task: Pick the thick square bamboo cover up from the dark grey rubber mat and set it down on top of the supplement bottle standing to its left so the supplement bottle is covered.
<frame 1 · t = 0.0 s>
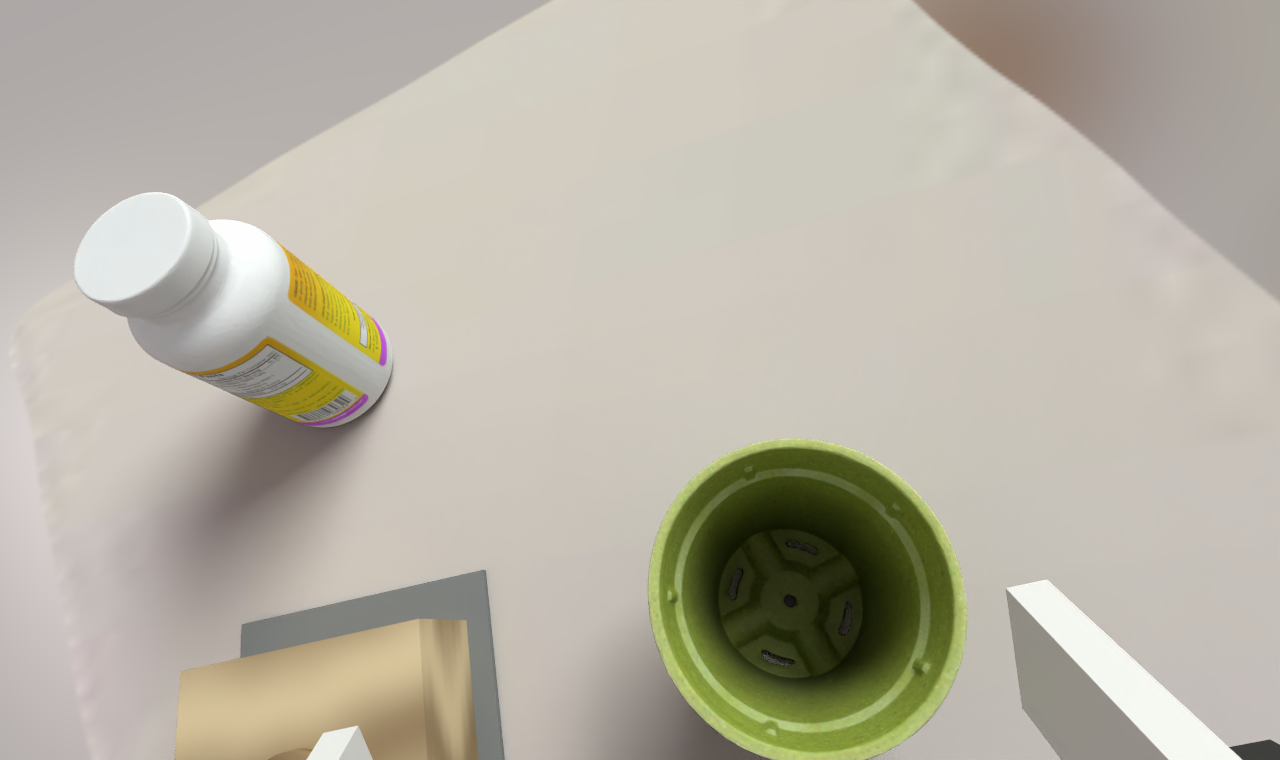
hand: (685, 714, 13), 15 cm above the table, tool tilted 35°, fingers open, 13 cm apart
plant pot: (786, 600, 28), on the table
supplement bottle: (342, 374, 35), on the table
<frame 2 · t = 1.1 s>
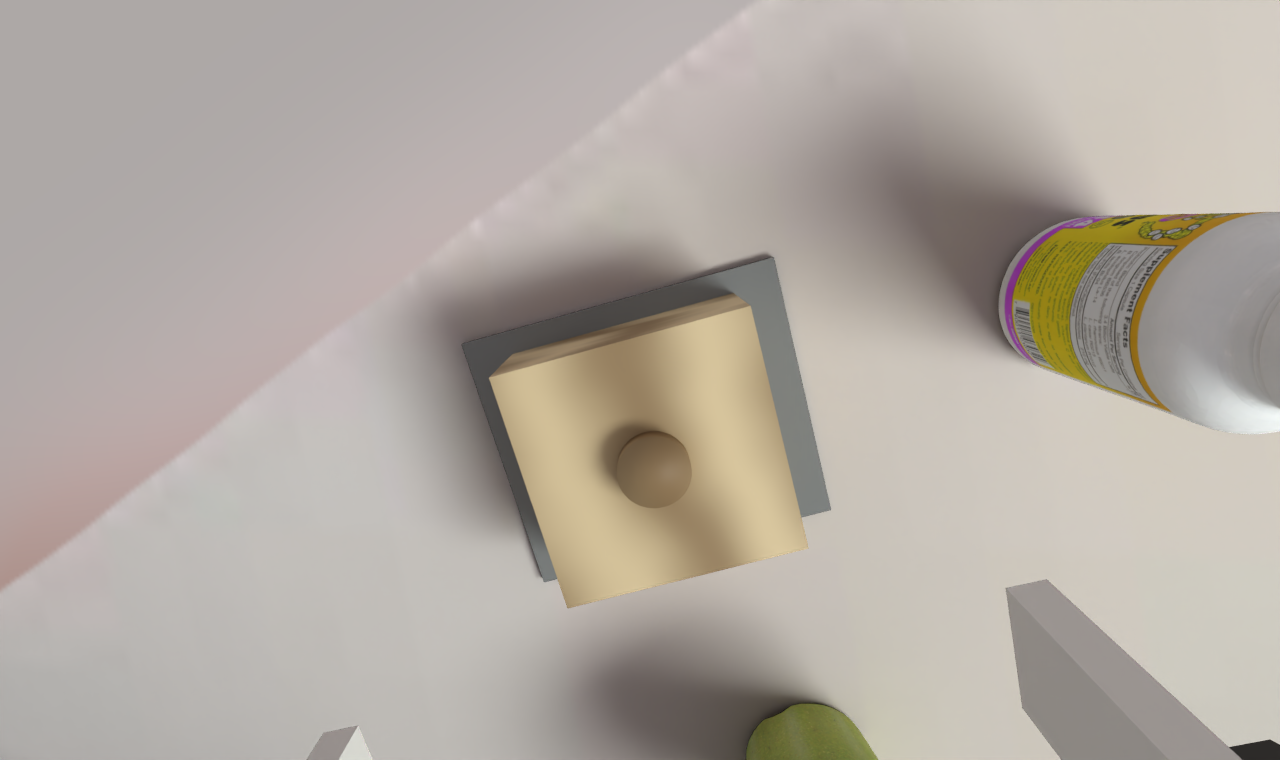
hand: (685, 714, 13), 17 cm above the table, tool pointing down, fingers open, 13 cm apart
lid: (651, 429, 29), resting on mat
plant pot: (803, 746, 34), on the table
supplement bottle: (1064, 294, 29), on the table
mat: (651, 427, 30), on the table
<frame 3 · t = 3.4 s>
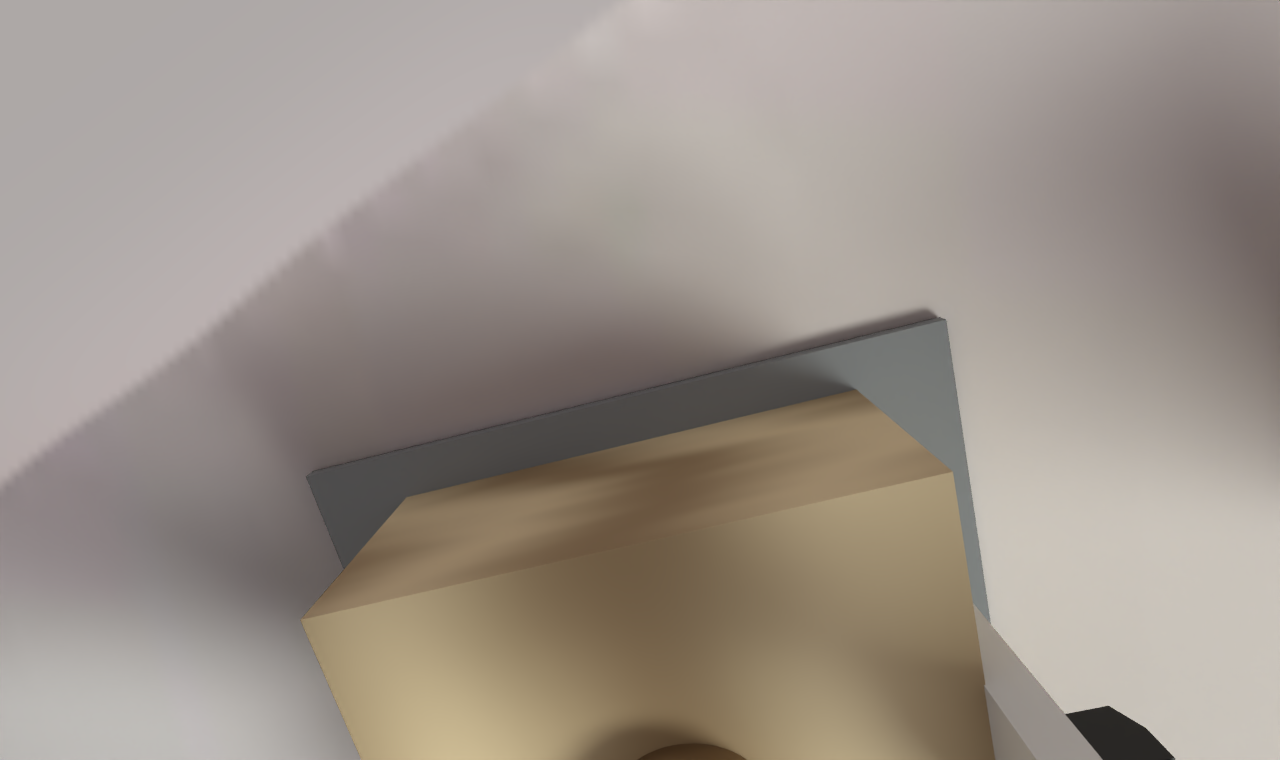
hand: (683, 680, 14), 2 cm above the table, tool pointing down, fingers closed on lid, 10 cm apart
lid: (680, 641, 15), resting on mat, touching gripper
mat: (680, 633, 15), on the table
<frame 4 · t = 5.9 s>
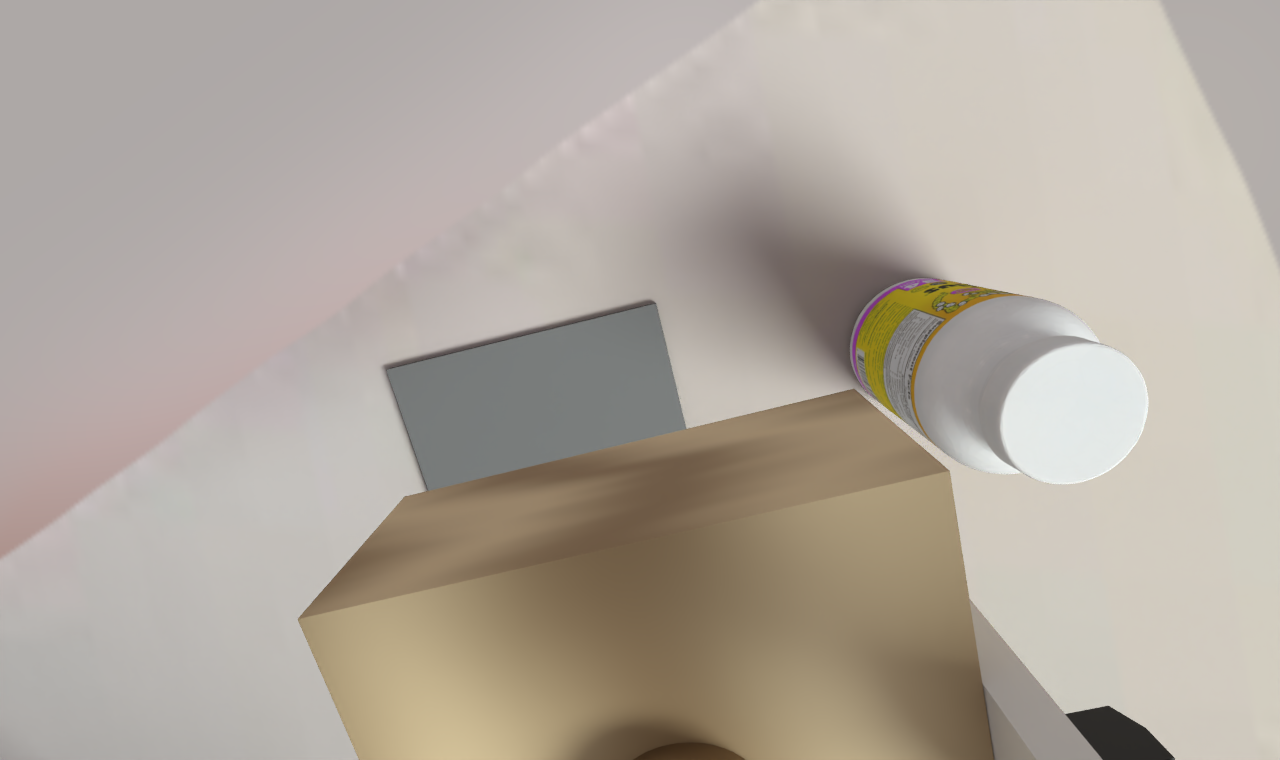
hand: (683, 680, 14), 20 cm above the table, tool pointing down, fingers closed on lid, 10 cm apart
lid: (678, 640, 15), point 19 cm above the table, touching gripper
supplement bottle: (909, 341, 33), on the table
mat: (552, 446, 34), on the table
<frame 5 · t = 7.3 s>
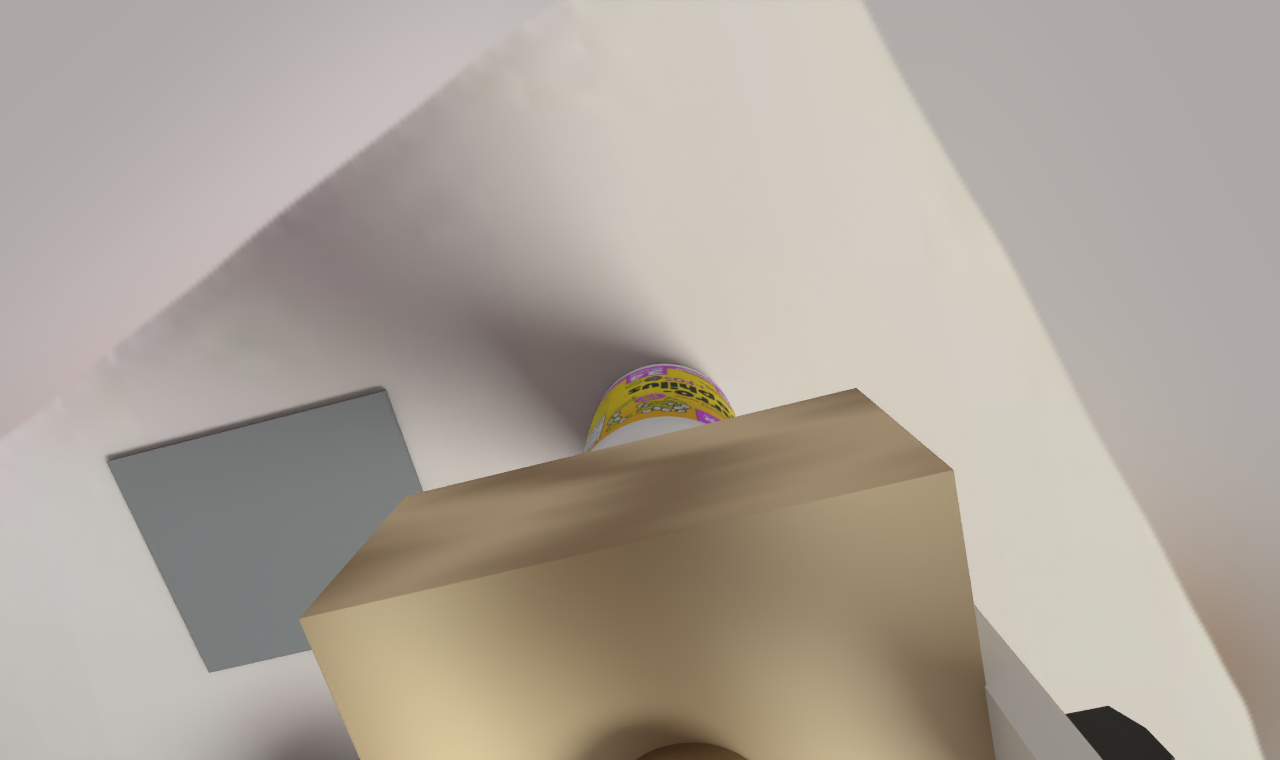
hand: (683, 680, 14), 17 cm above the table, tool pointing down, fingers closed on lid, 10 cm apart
lid: (679, 640, 15), point 16 cm above the table, touching gripper
supplement bottle: (663, 427, 31), on the table
mat: (294, 537, 32), on the table
when the fingers open (16 cm above the table, at t = 8.5 s): lid drops 2 cm, resting on supplement bottle.
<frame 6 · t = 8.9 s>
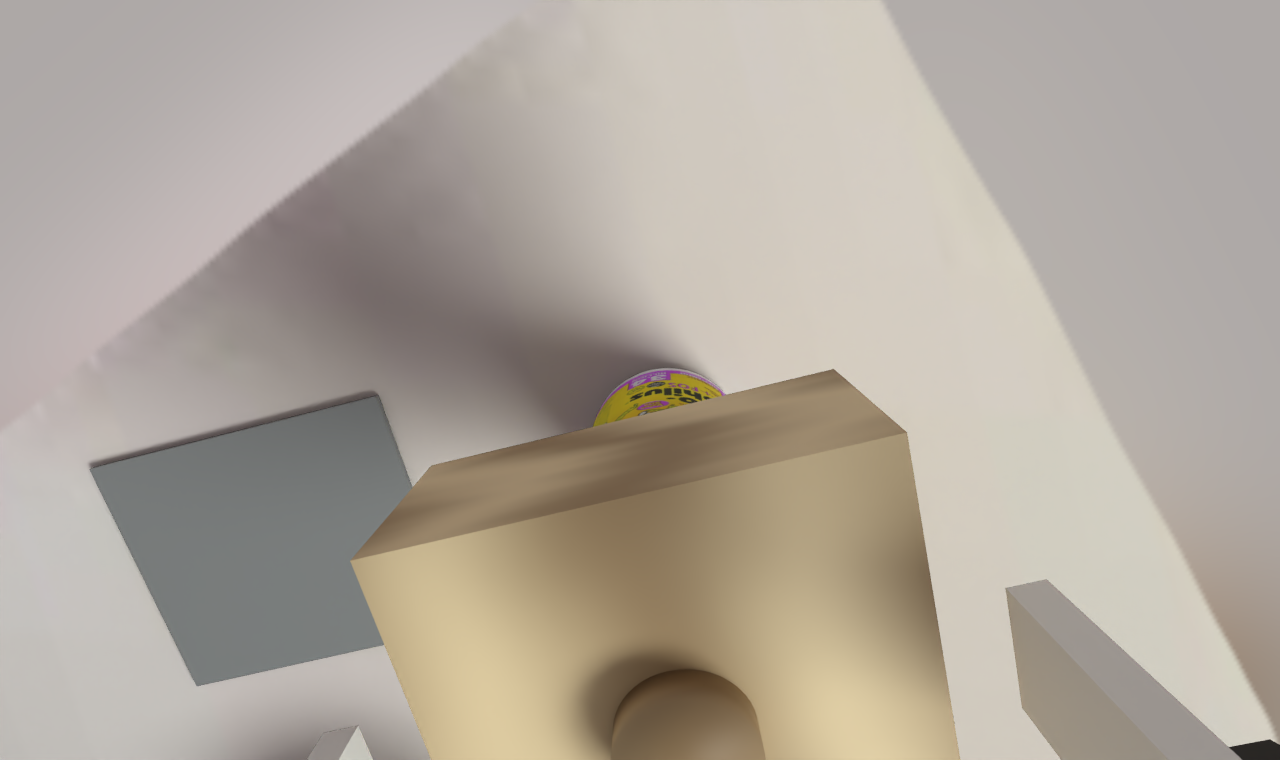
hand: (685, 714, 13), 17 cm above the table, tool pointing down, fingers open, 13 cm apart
lid: (676, 596, 17), point 13 cm above the table, touching supplement bottle
supplement bottle: (666, 433, 30), on the table, touching lid
mat: (283, 547, 31), on the table
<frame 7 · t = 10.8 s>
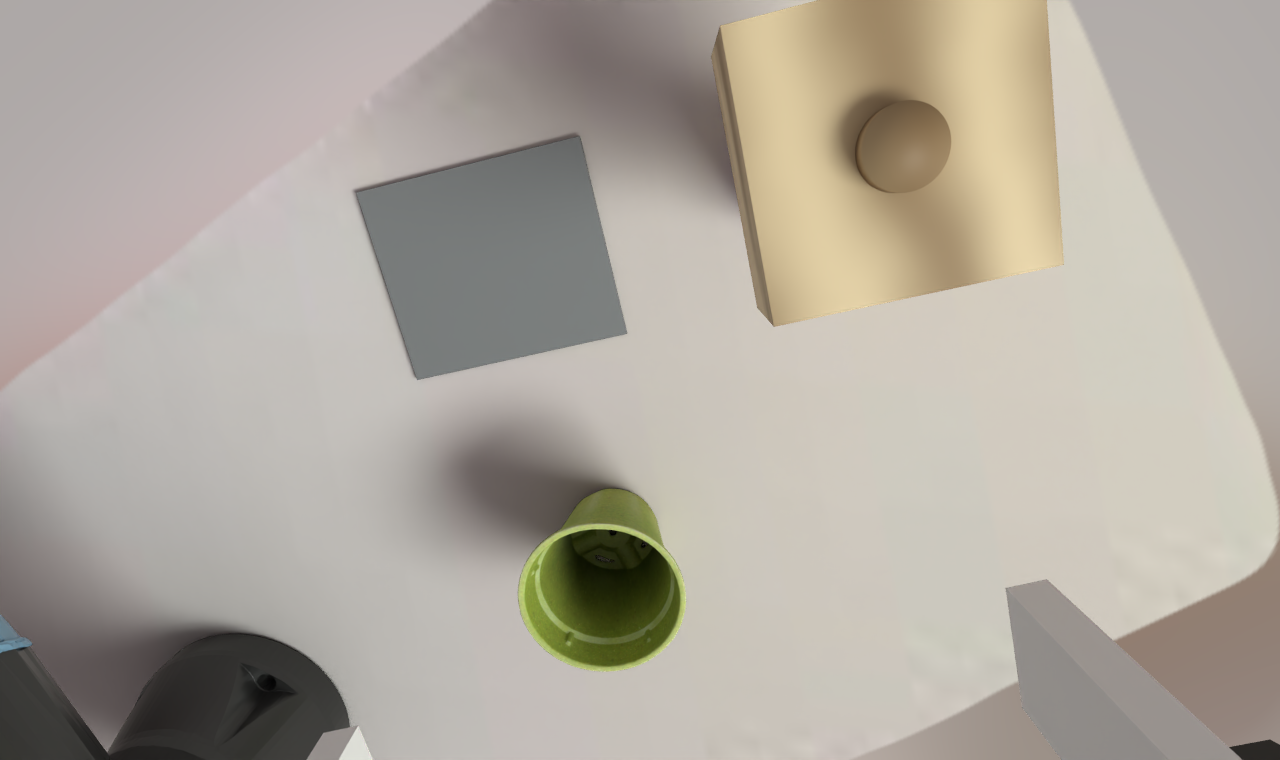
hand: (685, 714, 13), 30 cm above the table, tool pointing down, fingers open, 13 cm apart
lid: (859, 158, 26), point 13 cm above the table, touching supplement bottle
plant pot: (614, 525, 45), on the table
mat: (495, 264, 40), on the table
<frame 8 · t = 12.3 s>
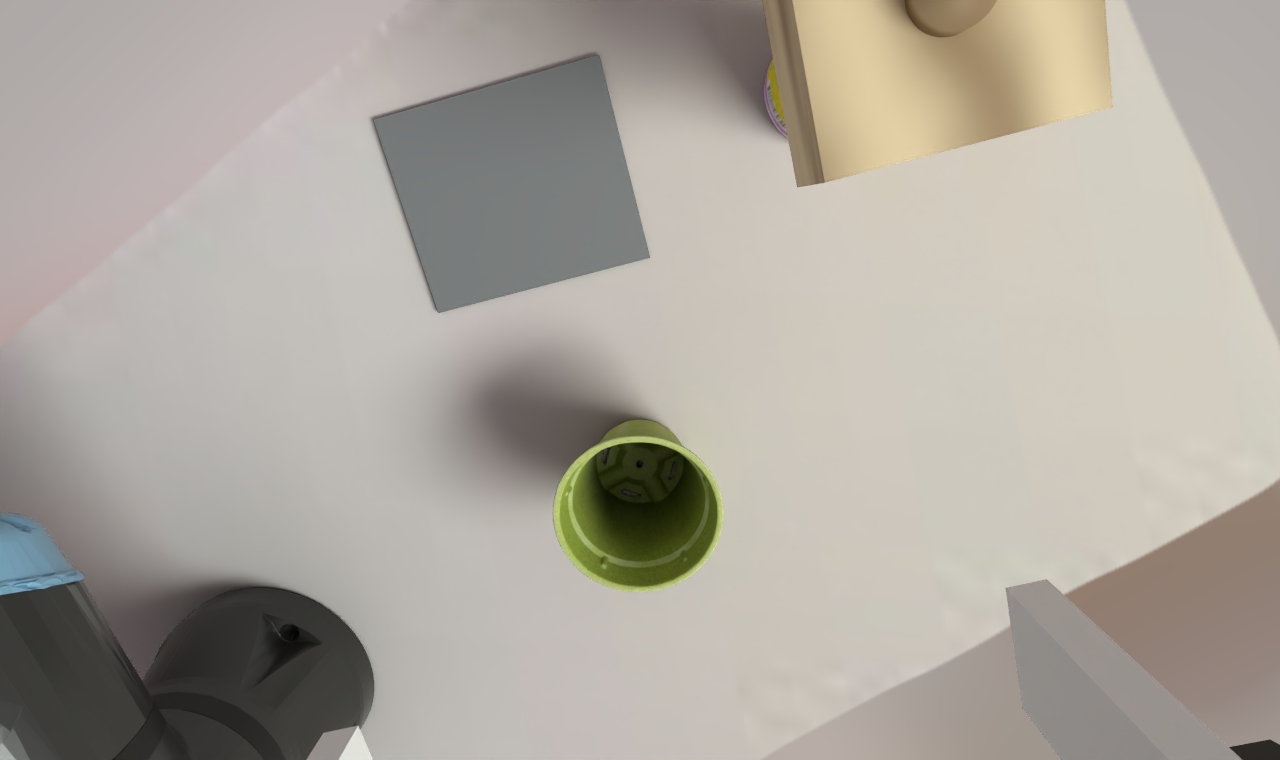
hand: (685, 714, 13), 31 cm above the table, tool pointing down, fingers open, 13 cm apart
lid: (897, 28, 26), point 13 cm above the table, touching supplement bottle
plant pot: (640, 458, 45), on the table
supplement bottle: (816, 89, 39), on the table, touching lid
mat: (515, 190, 40), on the table
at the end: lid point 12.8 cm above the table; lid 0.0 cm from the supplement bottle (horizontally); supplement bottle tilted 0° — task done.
